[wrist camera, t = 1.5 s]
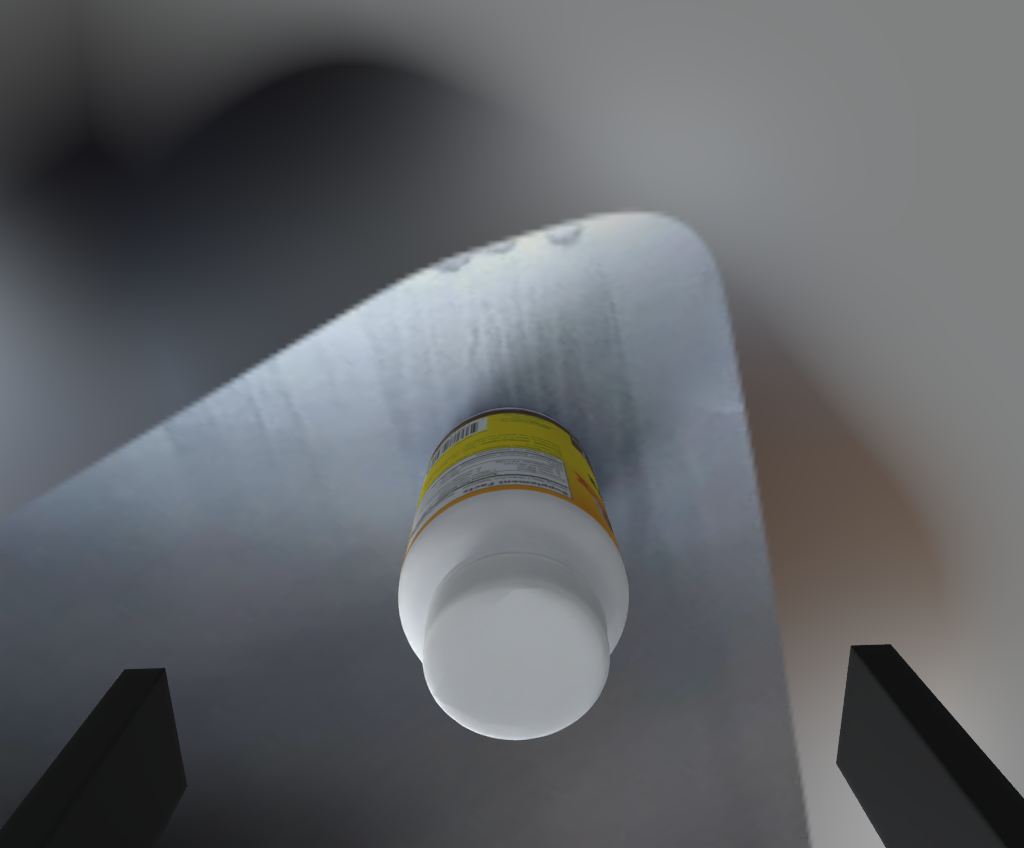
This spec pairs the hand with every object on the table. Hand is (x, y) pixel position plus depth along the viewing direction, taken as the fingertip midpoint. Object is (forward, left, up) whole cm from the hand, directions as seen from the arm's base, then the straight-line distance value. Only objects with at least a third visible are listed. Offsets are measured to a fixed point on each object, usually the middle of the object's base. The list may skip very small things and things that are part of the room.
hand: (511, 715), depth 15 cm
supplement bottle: (0, 0, -12) cm, 12 cm away
